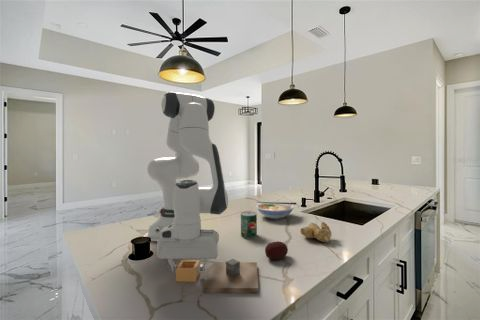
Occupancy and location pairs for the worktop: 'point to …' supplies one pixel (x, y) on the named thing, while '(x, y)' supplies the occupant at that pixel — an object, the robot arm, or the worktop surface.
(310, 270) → the worktop surface
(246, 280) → the base plate
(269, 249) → the potato
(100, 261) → the worktop surface
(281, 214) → the ramen bowl
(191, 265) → the orange square tube
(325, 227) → the ginger root
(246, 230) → the canned tomato
